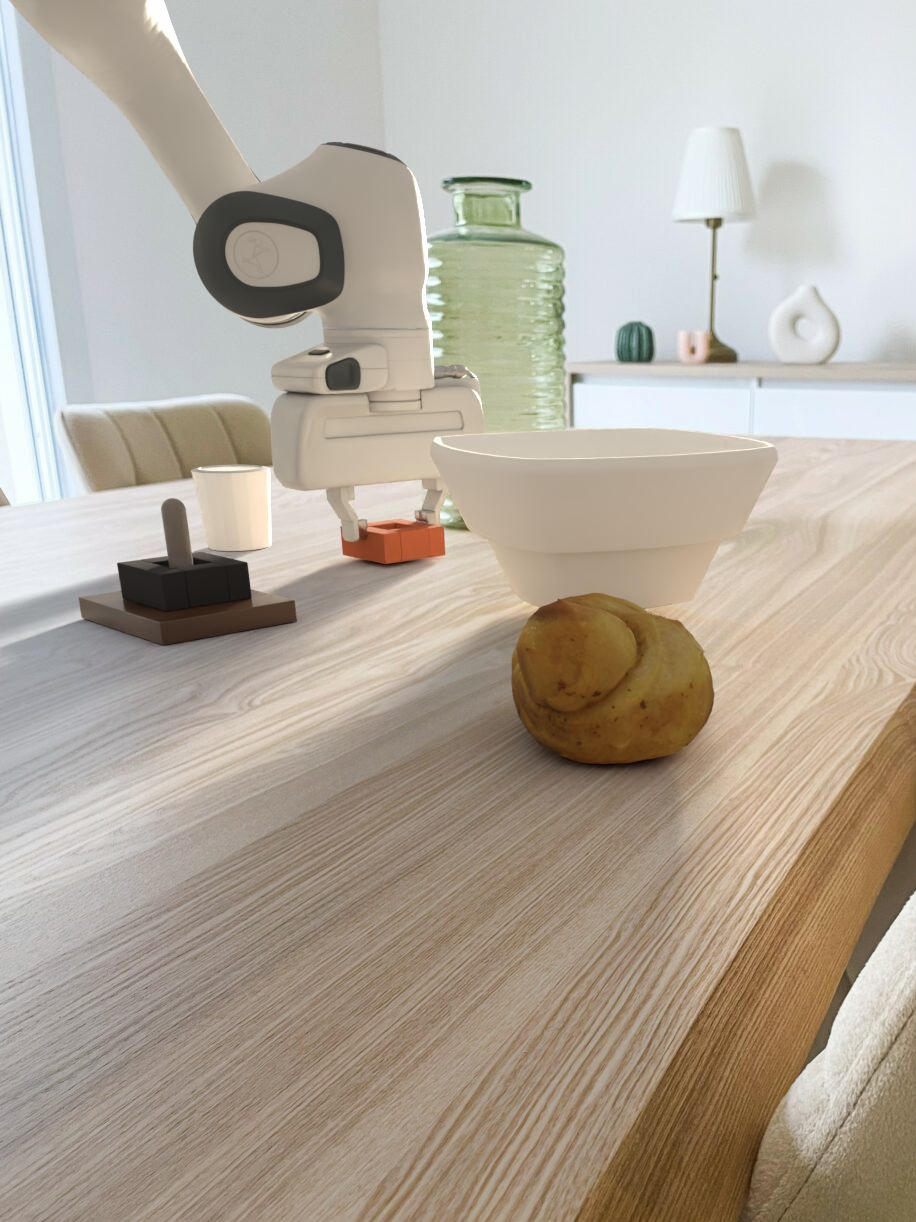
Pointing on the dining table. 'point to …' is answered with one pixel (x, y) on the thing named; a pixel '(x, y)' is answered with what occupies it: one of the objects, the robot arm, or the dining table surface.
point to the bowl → (604, 506)
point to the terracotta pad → (397, 542)
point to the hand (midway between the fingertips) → (392, 535)
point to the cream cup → (234, 506)
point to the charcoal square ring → (184, 582)
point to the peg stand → (191, 620)
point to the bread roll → (609, 681)
